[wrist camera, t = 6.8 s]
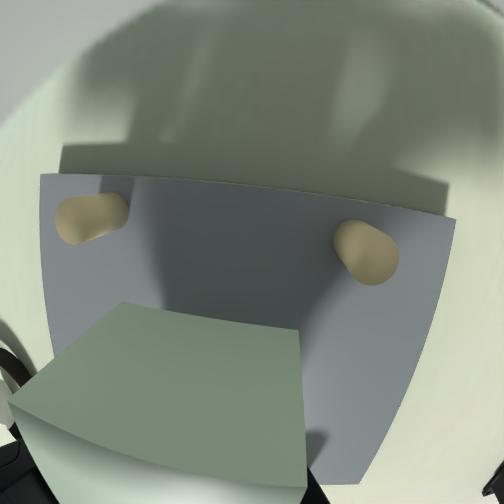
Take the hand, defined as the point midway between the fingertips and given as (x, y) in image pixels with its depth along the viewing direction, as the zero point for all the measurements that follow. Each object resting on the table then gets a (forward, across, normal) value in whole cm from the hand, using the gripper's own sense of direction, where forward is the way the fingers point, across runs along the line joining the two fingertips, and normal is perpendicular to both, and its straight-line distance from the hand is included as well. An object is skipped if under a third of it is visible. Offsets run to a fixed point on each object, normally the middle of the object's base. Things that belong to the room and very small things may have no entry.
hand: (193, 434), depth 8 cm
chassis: (+5, 0, 0) cm, 5 cm away
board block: (+1, 0, 0) cm, 1 cm away
